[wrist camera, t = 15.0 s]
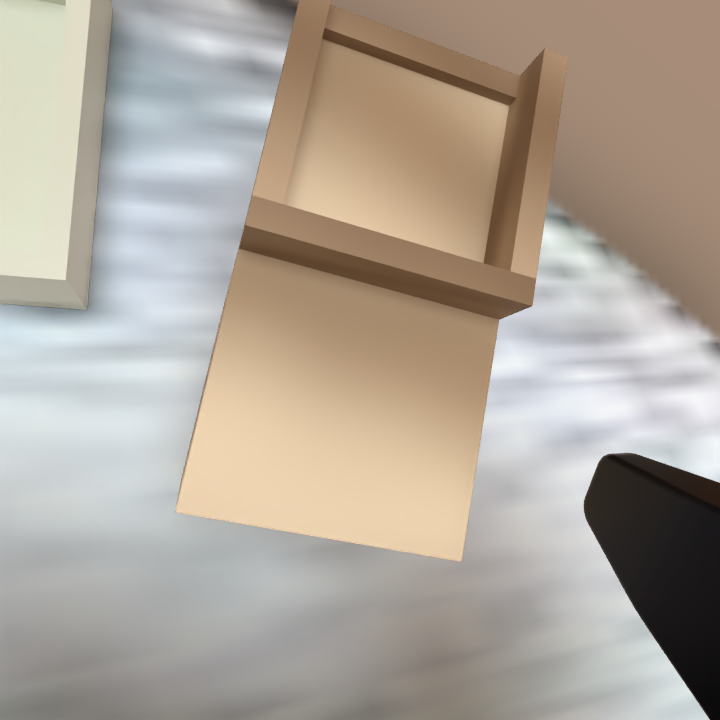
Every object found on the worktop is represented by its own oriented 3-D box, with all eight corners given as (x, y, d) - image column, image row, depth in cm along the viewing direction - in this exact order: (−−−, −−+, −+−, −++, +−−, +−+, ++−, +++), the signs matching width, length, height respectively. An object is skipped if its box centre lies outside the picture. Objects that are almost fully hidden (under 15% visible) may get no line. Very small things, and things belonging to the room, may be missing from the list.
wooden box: (338, 510, 20) (493, 574, 10) (180, 481, 19) (174, 520, 9) (390, 239, 22) (568, 57, 12) (249, 198, 21) (310, -45, 11)
